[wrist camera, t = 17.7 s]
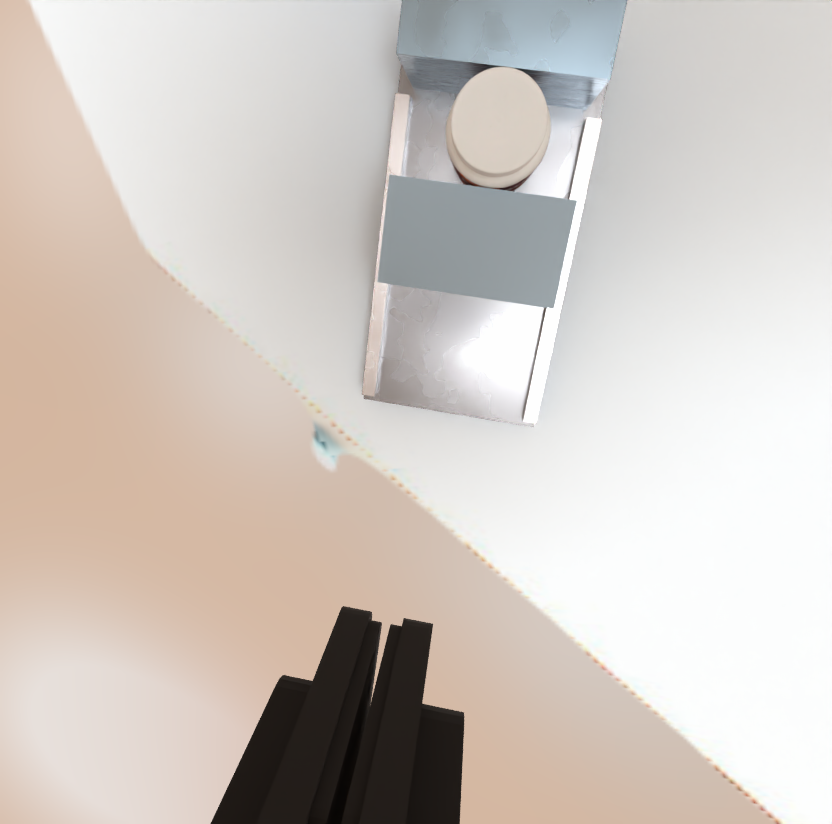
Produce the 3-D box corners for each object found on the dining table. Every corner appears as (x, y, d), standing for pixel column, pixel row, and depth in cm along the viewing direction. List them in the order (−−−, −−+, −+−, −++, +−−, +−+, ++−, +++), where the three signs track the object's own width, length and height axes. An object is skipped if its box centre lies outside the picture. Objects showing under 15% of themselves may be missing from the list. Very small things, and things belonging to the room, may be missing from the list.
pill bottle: (457, 203, 32) (448, 191, 24) (447, 111, 30) (434, 67, 22) (542, 190, 31) (561, 174, 23) (535, 96, 30) (553, 44, 22)
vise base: (411, 9, 30) (389, -57, 23) (615, 33, 29) (653, -30, 23) (367, 393, 37) (340, 428, 30) (531, 421, 36) (542, 463, 29)
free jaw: (406, 185, 32) (389, 174, 26) (561, 207, 31) (577, 200, 25) (395, 275, 33) (377, 282, 28) (542, 297, 32) (553, 308, 27)
